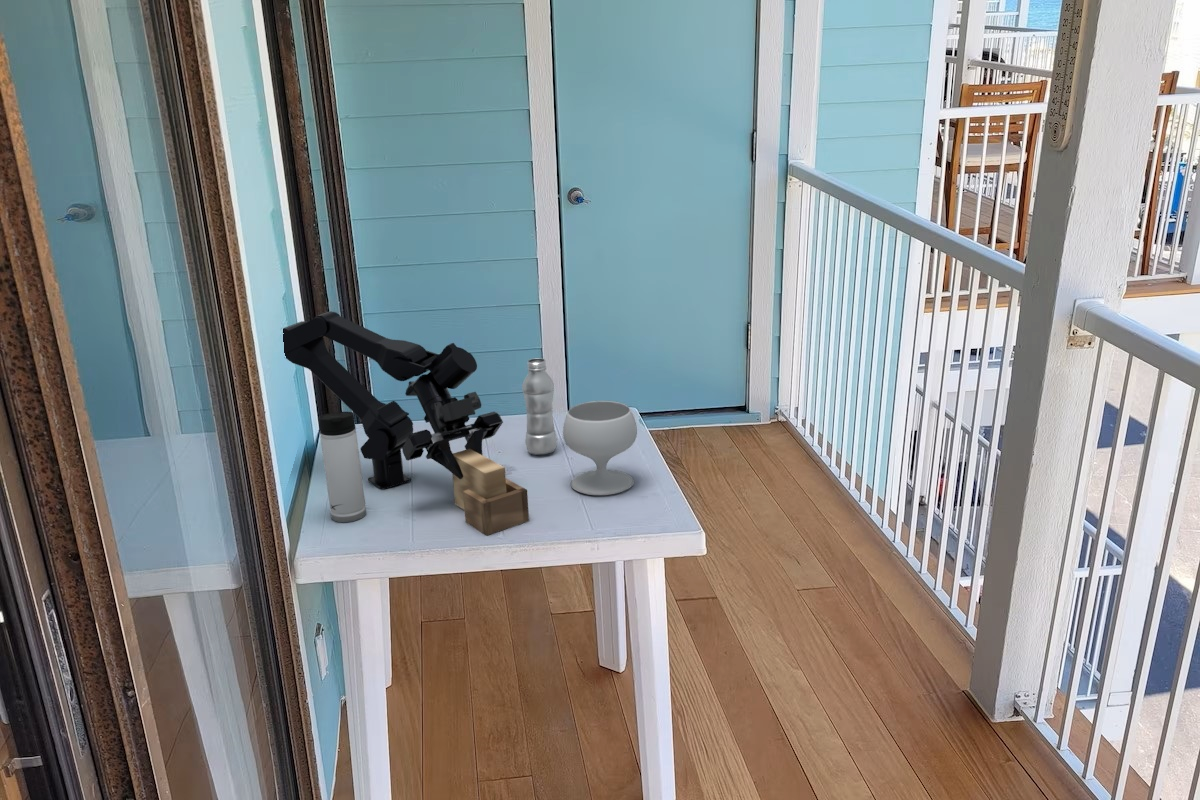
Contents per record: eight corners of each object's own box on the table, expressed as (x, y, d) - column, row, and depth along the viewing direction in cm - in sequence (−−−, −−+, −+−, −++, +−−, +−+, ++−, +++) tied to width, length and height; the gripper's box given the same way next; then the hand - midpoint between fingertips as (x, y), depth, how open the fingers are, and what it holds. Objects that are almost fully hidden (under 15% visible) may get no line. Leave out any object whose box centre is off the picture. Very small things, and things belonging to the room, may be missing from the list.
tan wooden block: (455, 504, 185) (450, 454, 182) (473, 498, 188) (469, 448, 184) (489, 525, 176) (485, 473, 173) (508, 519, 178) (504, 467, 175)
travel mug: (332, 525, 179) (317, 420, 173) (330, 511, 185) (316, 409, 179) (367, 520, 180) (354, 415, 174) (365, 506, 186) (352, 404, 180)
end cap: (465, 522, 178) (462, 491, 176) (507, 508, 183) (505, 478, 181) (486, 535, 172) (484, 503, 171) (529, 520, 177) (527, 489, 176)
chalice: (653, 485, 190) (651, 410, 186) (595, 505, 182) (591, 428, 178) (608, 465, 201) (605, 394, 196) (551, 483, 193) (547, 410, 188)
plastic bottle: (519, 453, 209) (513, 361, 203) (545, 444, 213) (539, 354, 207) (538, 460, 205) (532, 367, 198) (564, 452, 209) (559, 360, 203)
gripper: (403, 391, 175) (439, 468, 170) (494, 370, 186) (530, 441, 181) (387, 422, 183) (421, 496, 178) (475, 400, 194) (509, 469, 189)
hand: (472, 474), depth 181 cm, fingers closed on tan wooden block, 4 cm apart
